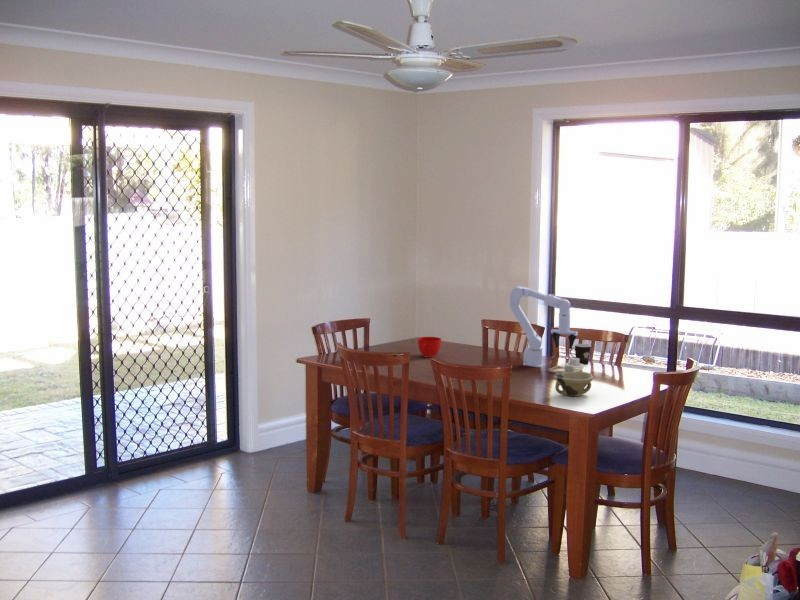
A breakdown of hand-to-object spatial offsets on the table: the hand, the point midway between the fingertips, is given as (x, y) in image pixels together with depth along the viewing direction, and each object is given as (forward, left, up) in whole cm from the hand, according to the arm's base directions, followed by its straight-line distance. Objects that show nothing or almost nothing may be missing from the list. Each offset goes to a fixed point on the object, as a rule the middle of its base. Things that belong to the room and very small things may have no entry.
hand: (564, 347), depth 425 cm
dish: (+6, +1, -10) cm, 12 cm away
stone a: (+6, 0, -10) cm, 12 cm away
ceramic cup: (-70, -25, -11) cm, 76 cm away
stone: (+10, -13, -10) cm, 19 cm away
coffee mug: (+3, +14, -11) cm, 18 cm away
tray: (+6, -10, -10) cm, 16 cm away
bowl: (+30, -49, -11) cm, 58 cm away
